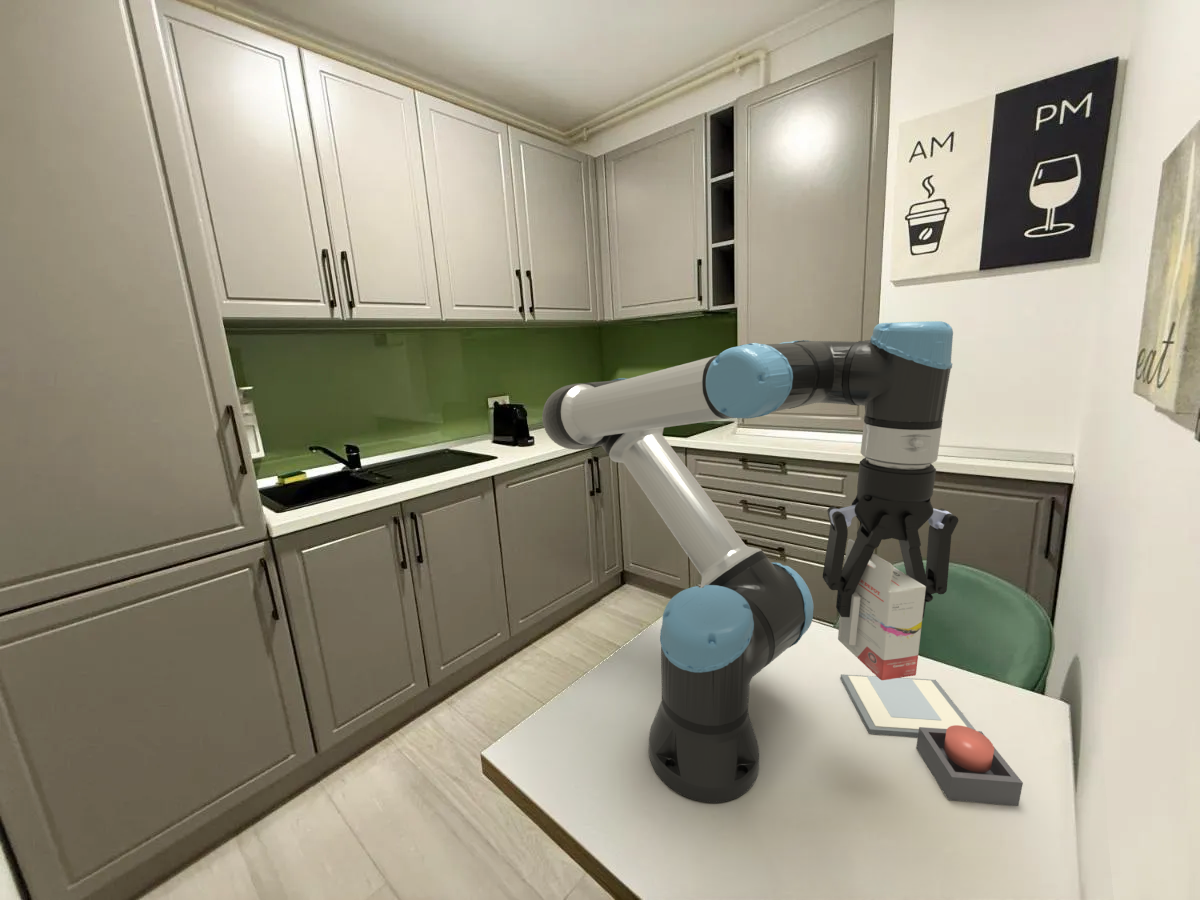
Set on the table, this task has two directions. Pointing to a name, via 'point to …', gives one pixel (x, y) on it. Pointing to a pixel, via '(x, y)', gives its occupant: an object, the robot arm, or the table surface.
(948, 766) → the button housing
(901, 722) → the board
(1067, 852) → the table surface
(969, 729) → the button
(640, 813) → the table surface
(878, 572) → the ink cartridge box
